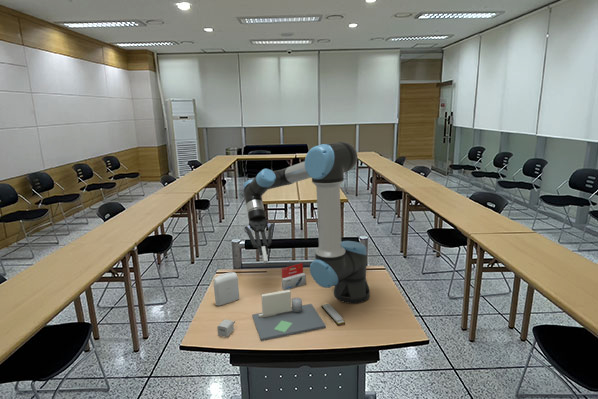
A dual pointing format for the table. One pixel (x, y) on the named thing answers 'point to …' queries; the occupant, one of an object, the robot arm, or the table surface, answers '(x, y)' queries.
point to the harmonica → (333, 314)
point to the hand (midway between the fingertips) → (265, 261)
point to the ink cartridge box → (293, 277)
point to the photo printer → (226, 288)
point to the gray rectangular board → (288, 323)
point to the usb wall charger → (225, 328)
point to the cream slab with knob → (279, 303)
